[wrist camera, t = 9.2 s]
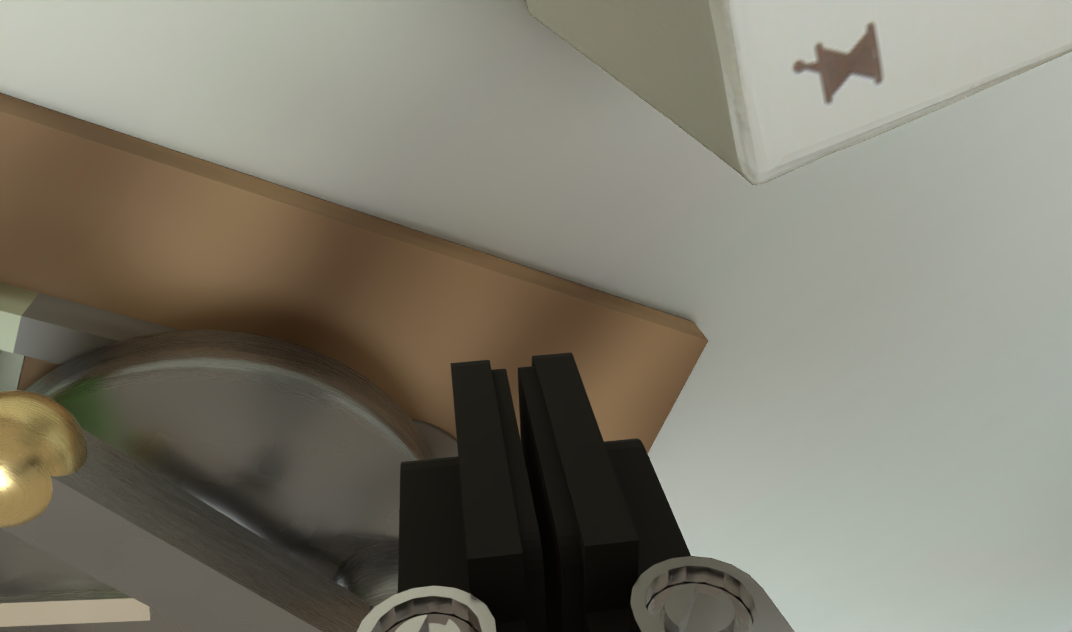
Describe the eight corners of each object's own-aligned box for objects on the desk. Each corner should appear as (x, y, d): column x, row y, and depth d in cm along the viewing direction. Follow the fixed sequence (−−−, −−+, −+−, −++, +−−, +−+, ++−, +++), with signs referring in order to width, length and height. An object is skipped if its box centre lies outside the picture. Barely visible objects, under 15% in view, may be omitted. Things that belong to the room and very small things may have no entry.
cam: (467, 278, 22) (516, 447, 15) (432, 660, 28) (456, 907, 21) (-68, 258, 20) (-289, 450, 13) (10, 683, 25) (-116, 974, 18)
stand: (694, 322, 26) (756, 401, 22) (505, 679, 31) (527, 797, 27) (-210, 24, 19) (-365, 61, 15) (-264, 555, 24) (-390, 692, 20)
